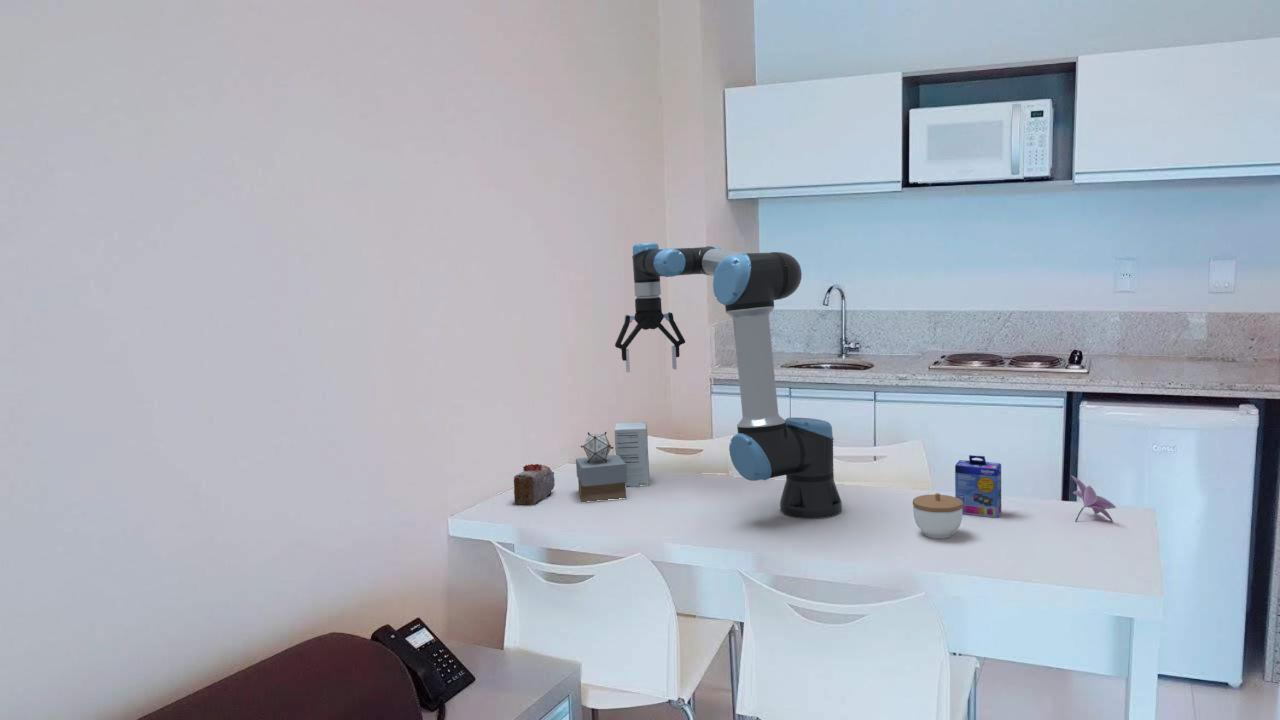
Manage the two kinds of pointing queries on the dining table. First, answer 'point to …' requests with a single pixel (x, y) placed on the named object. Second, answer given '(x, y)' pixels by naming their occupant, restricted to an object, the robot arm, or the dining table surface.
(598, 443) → the game die
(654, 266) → the robot arm
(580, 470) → the tower top
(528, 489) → the food item
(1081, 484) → the lily
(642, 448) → the supplement box
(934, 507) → the lidded jar
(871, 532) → the dining table surface
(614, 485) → the tower base
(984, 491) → the ink cartridge box
